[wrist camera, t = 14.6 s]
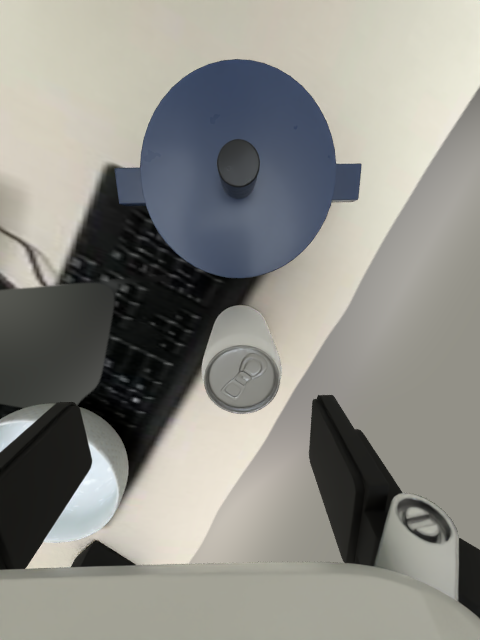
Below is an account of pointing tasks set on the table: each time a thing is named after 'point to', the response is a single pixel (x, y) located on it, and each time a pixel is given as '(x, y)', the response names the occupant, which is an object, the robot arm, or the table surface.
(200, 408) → the table surface
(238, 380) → the can
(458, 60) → the table surface
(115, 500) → the cereal bowl
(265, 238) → the pot lid
